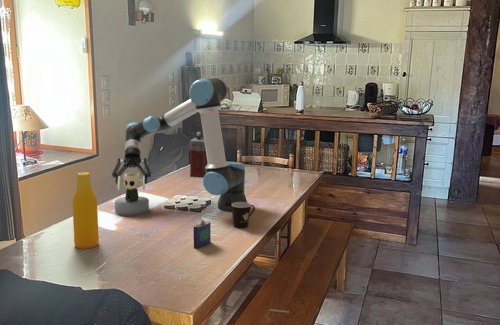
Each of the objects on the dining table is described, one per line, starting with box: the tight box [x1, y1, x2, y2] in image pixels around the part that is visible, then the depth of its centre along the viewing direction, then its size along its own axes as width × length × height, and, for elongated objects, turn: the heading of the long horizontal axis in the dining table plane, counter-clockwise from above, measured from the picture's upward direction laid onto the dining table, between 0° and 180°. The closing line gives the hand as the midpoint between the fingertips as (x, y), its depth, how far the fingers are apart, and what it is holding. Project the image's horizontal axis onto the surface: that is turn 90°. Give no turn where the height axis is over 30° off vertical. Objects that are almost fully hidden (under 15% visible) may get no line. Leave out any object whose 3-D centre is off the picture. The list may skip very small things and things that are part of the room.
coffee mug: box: [231, 202, 256, 229], centre depth 217 cm, size 12×9×10 cm
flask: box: [192, 219, 212, 249], centre depth 194 cm, size 9×3×11 cm, turn 144°
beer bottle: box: [71, 171, 100, 250], centre depth 189 cm, size 9×9×29 cm
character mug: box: [121, 172, 143, 201], centre depth 233 cm, size 11×7×13 cm, turn 75°
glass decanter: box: [188, 131, 208, 179], centre depth 306 cm, size 9×11×28 cm
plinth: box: [114, 195, 150, 217], centre depth 235 cm, size 16×16×5 cm
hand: (131, 189), depth 230 cm, fingers open, 11 cm apart
